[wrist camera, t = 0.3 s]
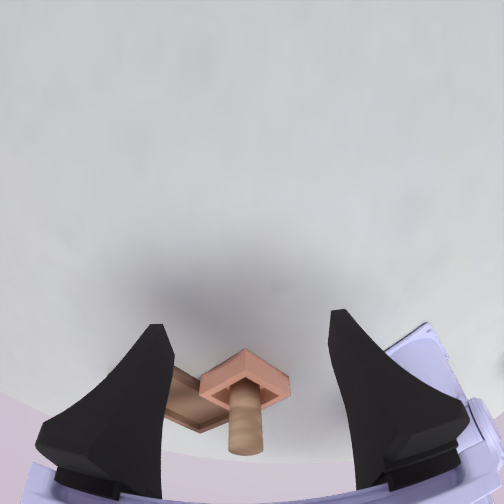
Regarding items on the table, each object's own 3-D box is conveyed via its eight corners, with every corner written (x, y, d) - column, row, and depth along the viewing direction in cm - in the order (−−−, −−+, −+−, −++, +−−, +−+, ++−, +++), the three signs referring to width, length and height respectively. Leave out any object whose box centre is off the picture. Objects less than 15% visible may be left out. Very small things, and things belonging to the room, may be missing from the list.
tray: (244, 404, 32) (244, 415, 31) (200, 424, 35) (200, 433, 34) (142, 345, 27) (139, 357, 26) (108, 374, 30) (104, 384, 28)
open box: (288, 376, 30) (290, 395, 28) (244, 399, 32) (244, 417, 30) (245, 348, 27) (245, 369, 25) (200, 376, 29) (198, 395, 27)
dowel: (265, 380, 29) (270, 449, 22) (244, 391, 30) (245, 457, 23) (245, 368, 28) (246, 440, 21) (223, 380, 29) (221, 449, 22)
